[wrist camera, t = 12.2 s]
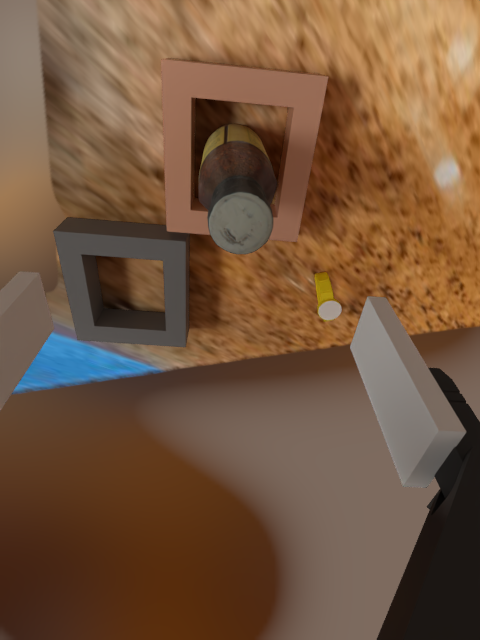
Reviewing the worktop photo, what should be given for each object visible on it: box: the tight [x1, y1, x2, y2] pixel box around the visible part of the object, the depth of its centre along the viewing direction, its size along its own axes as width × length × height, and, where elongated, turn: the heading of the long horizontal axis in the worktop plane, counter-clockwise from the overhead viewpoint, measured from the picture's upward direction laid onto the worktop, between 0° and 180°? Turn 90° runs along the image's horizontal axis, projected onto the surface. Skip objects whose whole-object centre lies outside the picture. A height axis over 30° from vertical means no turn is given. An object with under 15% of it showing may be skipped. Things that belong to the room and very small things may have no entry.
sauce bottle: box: [198, 124, 277, 254], centre depth 30 cm, size 7×6×20 cm
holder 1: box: [53, 217, 190, 347], centre depth 46 cm, size 14×15×4 cm
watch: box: [315, 272, 342, 322], centre depth 46 cm, size 6×3×6 cm, turn 13°
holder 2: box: [161, 58, 328, 242], centre depth 37 cm, size 14×15×4 cm
